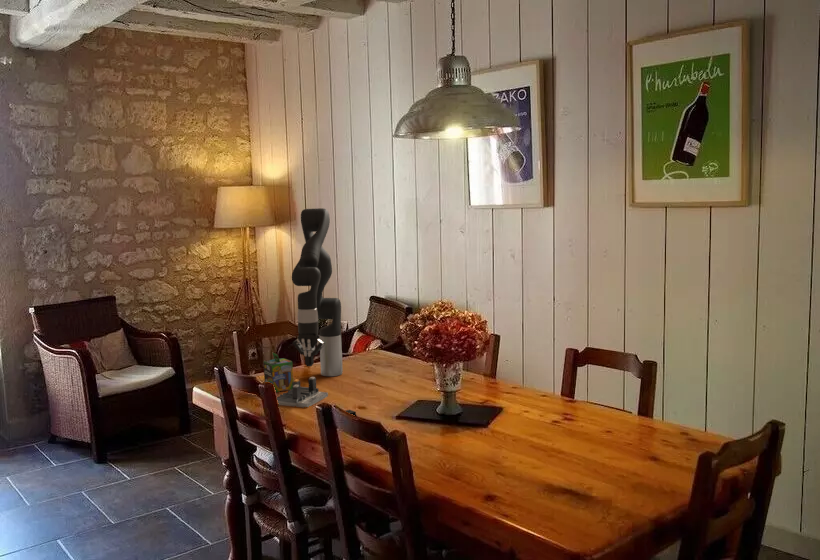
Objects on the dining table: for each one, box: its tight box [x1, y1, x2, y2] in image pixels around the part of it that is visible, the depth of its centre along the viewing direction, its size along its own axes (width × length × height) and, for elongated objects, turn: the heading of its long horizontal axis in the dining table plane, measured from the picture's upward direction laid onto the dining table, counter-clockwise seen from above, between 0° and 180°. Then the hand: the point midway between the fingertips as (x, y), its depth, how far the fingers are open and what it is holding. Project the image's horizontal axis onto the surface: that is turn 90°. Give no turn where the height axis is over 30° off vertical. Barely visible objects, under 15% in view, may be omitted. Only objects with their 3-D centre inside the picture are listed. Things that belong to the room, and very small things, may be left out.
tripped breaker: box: [292, 378, 301, 392], centre depth 282 cm, size 2×2×6 cm
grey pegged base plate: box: [277, 376, 329, 408], centre depth 282 cm, size 17×15×8 cm
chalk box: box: [262, 352, 295, 393], centre depth 298 cm, size 9×9×15 cm
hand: (309, 365), depth 279 cm, fingers closed
